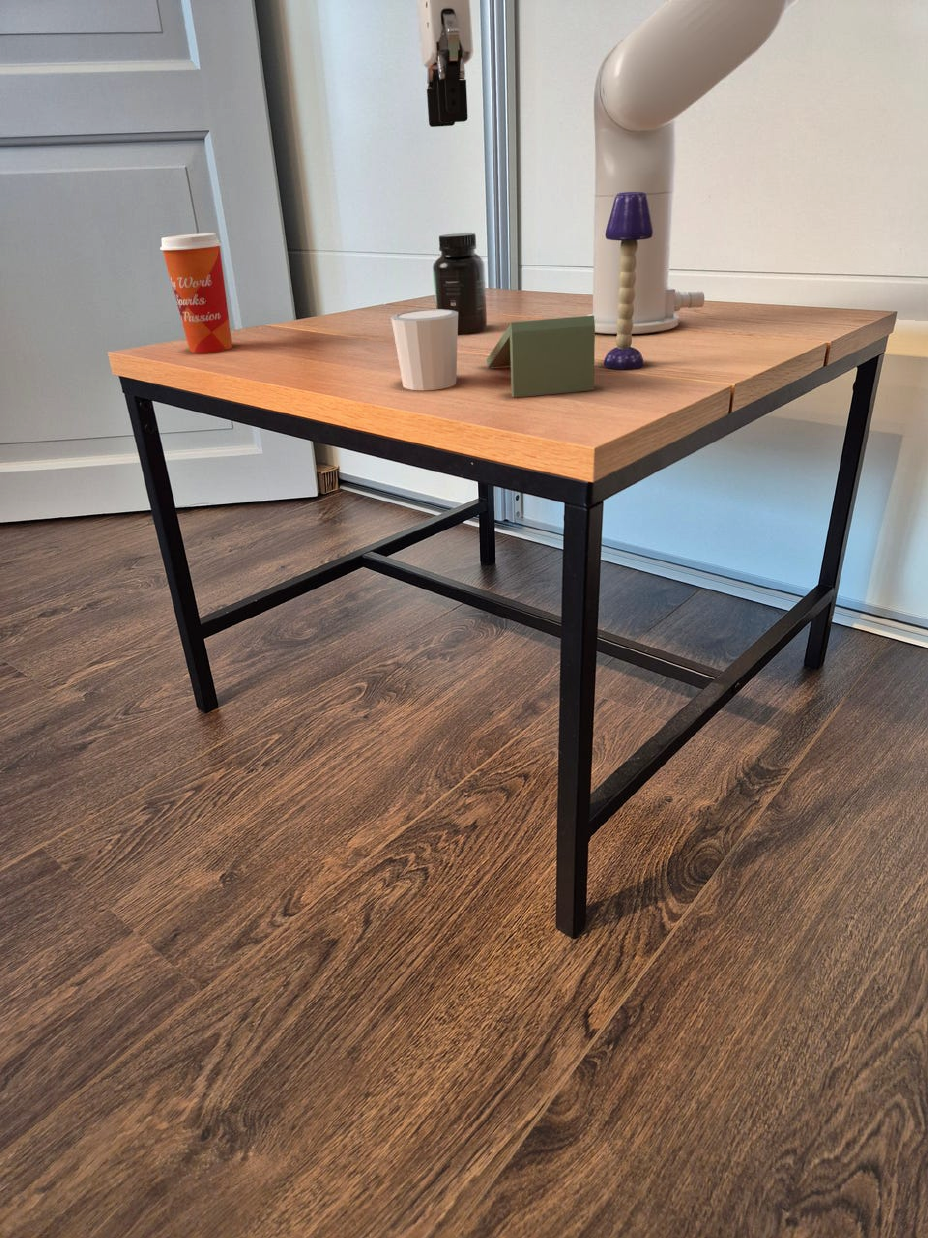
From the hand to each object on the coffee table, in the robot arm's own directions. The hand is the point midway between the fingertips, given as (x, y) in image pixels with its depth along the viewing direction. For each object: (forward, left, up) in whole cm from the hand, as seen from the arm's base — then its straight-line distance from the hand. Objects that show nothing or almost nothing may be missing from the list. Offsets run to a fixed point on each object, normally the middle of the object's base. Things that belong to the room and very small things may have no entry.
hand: (447, 123), depth 99 cm
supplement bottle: (-1, -4, -24) cm, 25 cm away
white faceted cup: (+7, +26, -24) cm, 36 cm away
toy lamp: (-14, +26, -24) cm, 38 cm away
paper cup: (+33, -6, -24) cm, 42 cm away
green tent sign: (-4, +28, -24) cm, 37 cm away
